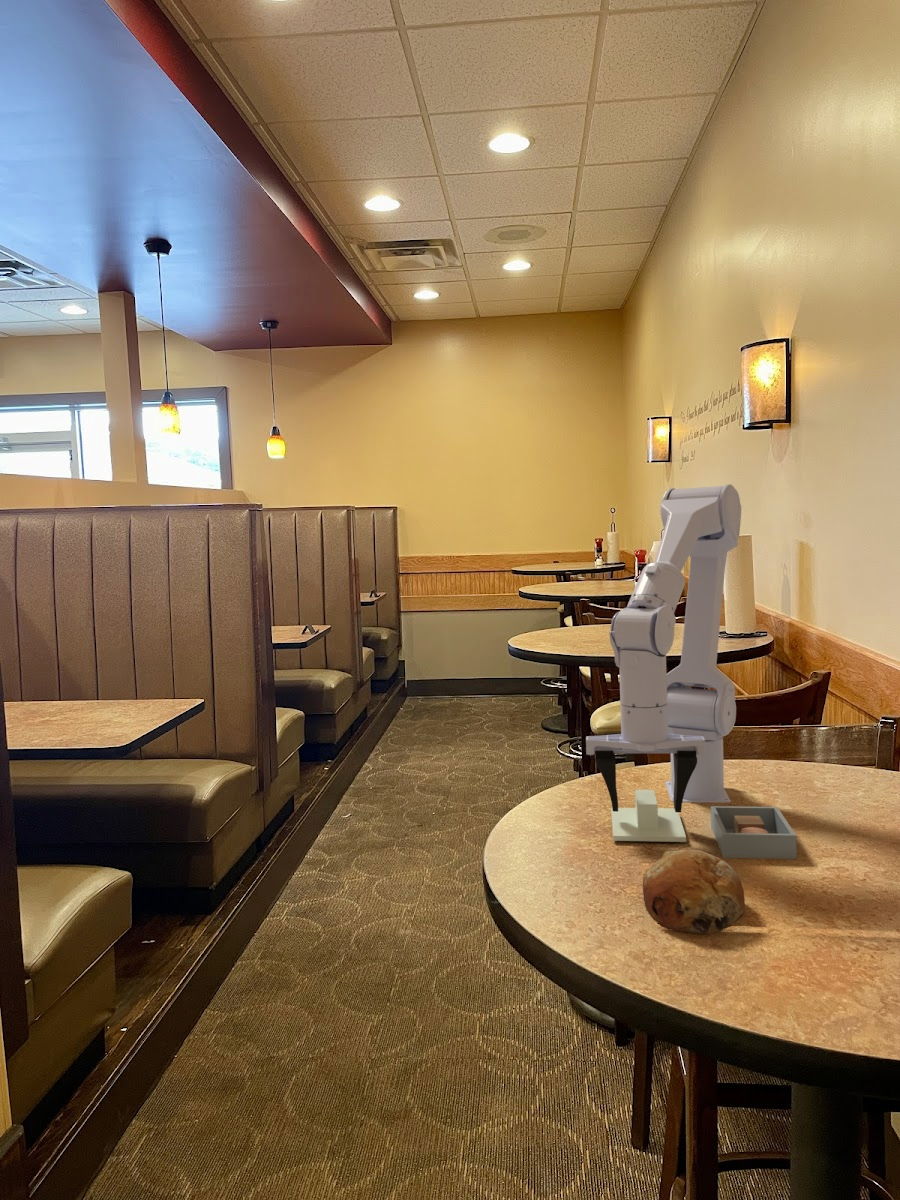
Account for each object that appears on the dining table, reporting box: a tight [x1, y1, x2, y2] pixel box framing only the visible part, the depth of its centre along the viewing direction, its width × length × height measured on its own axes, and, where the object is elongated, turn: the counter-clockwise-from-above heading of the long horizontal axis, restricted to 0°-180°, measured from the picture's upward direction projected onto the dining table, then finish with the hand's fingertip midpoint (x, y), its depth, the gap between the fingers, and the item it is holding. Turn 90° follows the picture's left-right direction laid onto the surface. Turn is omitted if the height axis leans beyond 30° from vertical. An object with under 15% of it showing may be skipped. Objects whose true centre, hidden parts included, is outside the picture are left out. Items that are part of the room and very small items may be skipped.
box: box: [710, 805, 798, 860], centre depth 102 cm, size 10×8×3 cm
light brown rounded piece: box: [741, 827, 768, 833], centre depth 100 cm, size 3×3×2 cm
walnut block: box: [734, 816, 764, 833], centre depth 103 cm, size 3×3×2 cm
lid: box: [610, 789, 687, 843], centre depth 108 cm, size 11×9×5 cm
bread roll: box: [642, 849, 746, 935], centre depth 85 cm, size 10×10×8 cm
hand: (646, 809), depth 108 cm, fingers open, 7 cm apart
